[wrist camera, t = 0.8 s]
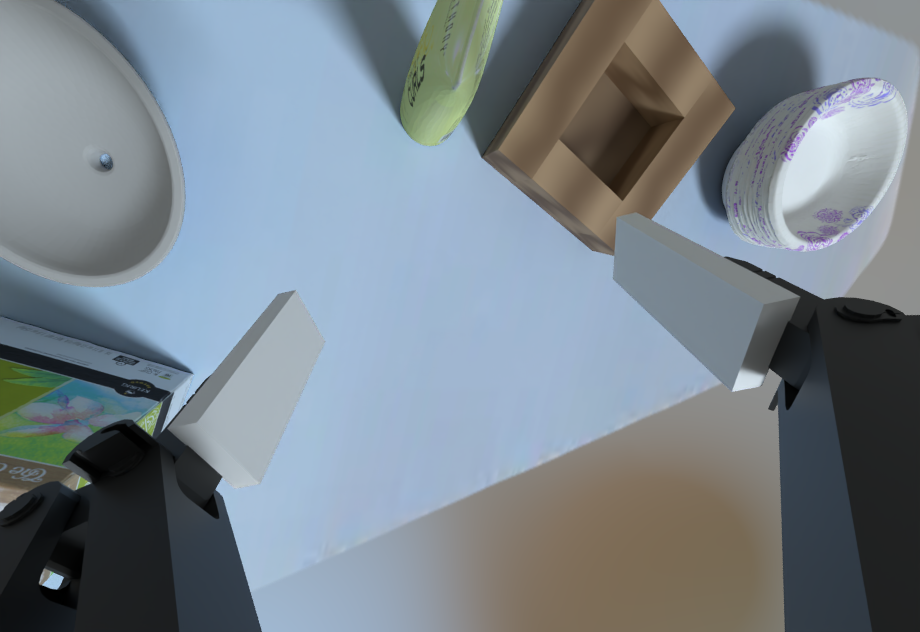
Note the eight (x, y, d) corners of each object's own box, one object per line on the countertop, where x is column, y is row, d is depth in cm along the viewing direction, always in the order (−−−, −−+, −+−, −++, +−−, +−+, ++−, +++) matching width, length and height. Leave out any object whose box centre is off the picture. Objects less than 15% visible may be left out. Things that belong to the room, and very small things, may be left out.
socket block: (481, 157, 31) (498, 149, 26) (586, -7, 28) (625, -48, 23) (592, 250, 36) (622, 257, 32) (688, 121, 34) (735, 108, 29)
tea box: (198, 368, 32) (55, 495, 18) (169, 448, 34) (22, 617, 20) (-7, 309, 27) (-420, 421, 13) (-27, 407, 29) (-401, 593, 15)
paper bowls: (733, 268, 41) (808, 282, 34) (676, 180, 36) (751, 175, 28) (826, 173, 40) (926, 167, 32) (782, 66, 34) (891, 29, 27)
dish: (-72, 8, 21) (-203, -47, 16) (183, 31, 24) (134, -10, 19) (45, 277, 27) (-27, 293, 22) (238, 270, 30) (211, 282, 25)
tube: (385, 87, 27) (383, -136, 9) (440, 64, 28) (540, -194, 10) (414, 156, 29) (457, 85, 11) (464, 134, 30) (583, 32, 12)
